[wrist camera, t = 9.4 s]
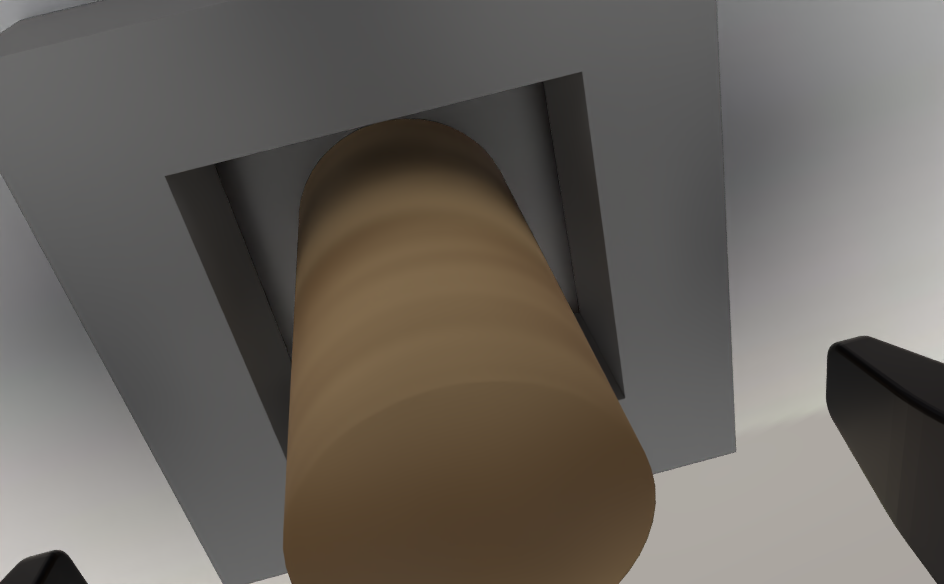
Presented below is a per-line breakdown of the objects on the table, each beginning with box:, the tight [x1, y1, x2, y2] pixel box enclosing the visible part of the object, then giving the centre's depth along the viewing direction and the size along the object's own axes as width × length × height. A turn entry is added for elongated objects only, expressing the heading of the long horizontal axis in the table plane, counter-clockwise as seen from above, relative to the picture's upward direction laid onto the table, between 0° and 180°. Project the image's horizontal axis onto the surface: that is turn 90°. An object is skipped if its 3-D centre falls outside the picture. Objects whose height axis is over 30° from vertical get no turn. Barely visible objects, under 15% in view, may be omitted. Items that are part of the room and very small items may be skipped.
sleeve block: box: [0, 0, 736, 584], centre depth 14 cm, size 10×10×3 cm
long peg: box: [283, 119, 656, 584], centre depth 12 cm, size 4×4×8 cm
